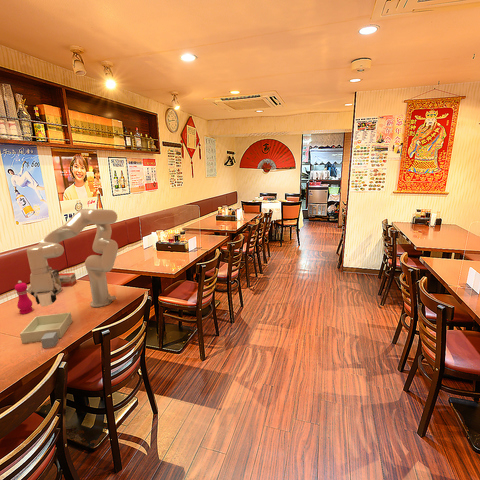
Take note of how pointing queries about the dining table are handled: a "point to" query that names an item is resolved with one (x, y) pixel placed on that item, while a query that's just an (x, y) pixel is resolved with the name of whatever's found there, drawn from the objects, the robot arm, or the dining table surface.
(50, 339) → the cube
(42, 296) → the shot glass
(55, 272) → the coffee box
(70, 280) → the medicine box
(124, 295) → the dining table surface
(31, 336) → the tote
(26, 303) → the pepper mill
